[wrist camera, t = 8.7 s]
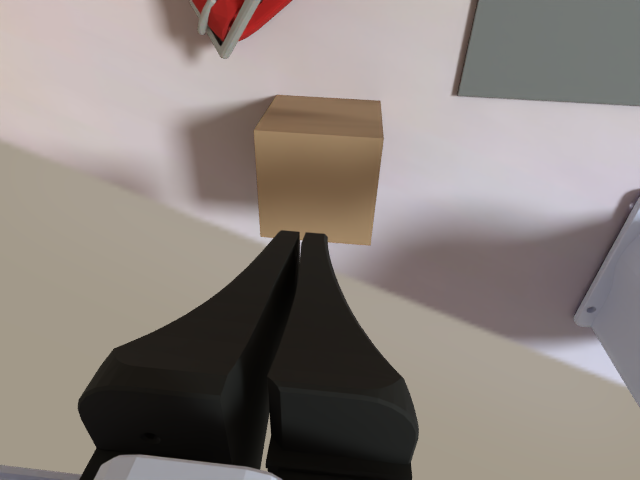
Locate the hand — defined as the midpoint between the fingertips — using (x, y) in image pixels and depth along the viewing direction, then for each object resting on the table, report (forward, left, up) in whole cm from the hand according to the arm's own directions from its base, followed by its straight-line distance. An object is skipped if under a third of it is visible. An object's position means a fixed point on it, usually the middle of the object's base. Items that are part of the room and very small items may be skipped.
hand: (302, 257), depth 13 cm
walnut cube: (0, 0, -10) cm, 10 cm away
